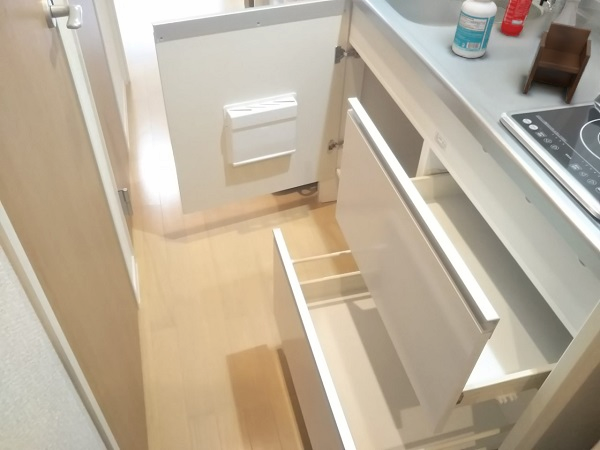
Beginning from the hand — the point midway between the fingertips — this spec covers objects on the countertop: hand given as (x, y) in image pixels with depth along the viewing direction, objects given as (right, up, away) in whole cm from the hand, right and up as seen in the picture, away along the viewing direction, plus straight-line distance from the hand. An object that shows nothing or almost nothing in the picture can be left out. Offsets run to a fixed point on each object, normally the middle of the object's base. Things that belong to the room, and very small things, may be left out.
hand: (520, 0), depth 123 cm
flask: (+11, -8, +4) cm, 14 cm away
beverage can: (0, -6, +5) cm, 8 cm away
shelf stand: (-1, -26, -16) cm, 30 cm away
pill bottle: (-14, -14, -4) cm, 20 cm away
